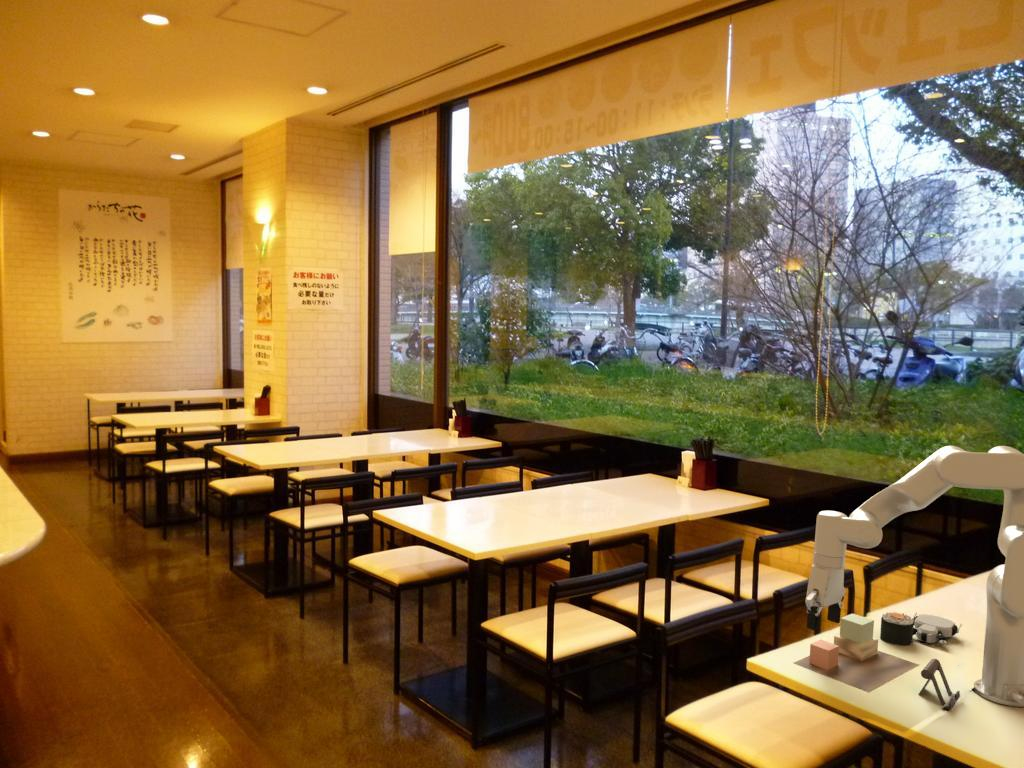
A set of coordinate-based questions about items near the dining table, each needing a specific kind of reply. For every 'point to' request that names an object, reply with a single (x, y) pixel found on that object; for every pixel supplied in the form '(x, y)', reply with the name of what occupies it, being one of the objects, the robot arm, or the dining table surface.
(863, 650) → the birch base block
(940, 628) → the robot toy
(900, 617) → the sushi
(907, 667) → the walnut board
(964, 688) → the dining table surface
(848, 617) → the green block
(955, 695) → the portable electronic device stand
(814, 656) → the terracotta block
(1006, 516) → the robot arm
